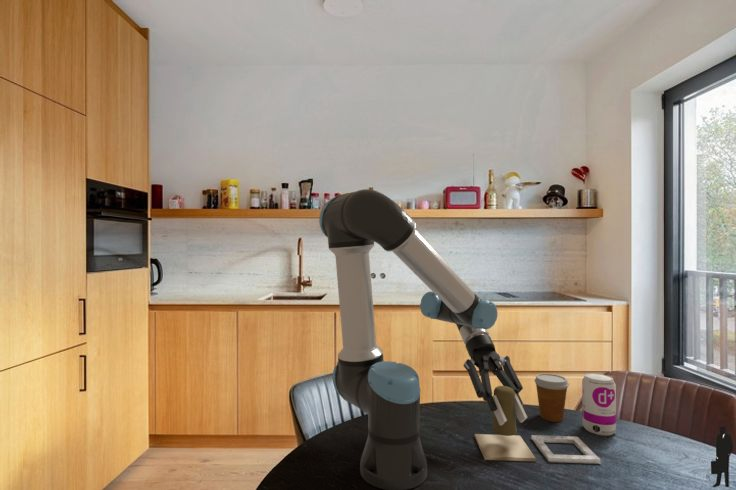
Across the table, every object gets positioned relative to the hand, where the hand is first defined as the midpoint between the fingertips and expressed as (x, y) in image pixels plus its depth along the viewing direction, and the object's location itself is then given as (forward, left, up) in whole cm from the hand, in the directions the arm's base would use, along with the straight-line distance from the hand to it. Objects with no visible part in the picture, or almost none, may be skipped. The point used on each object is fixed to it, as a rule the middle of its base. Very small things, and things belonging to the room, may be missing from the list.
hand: (513, 421), depth 100 cm
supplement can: (+28, +16, -8) cm, 34 cm away
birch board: (-2, +3, -8) cm, 9 cm away
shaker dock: (+13, +3, -8) cm, 16 cm away
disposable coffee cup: (+18, +24, -8) cm, 32 cm away
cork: (-1, +4, -4) cm, 6 cm away
